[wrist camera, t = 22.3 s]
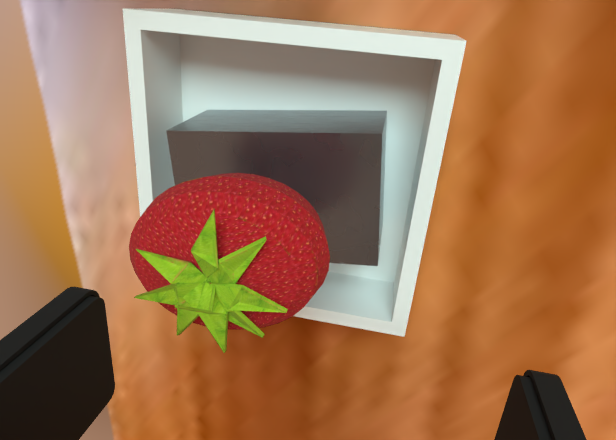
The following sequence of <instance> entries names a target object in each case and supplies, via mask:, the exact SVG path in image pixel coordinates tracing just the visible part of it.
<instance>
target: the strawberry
mask: <svg viewBox="0 0 616 440" xmlns="http://www.w3.org/2000/svg"><path fill="white" fill-rule="evenodd" d="M129 250H130V260H131V262H132V265H133V268H134V271H135V273H136V275H137V276H138V278H139V279H140V281H141V283H142V284H143V286H144V287H145V289H146V290H147V291H148V292H146V293H143V294H140V295H137V296H135V297H134V298H138V299H144V300H149V301H155V302H158V303H160V304H161V305H162V306H163V307H164V308H166V309H167V310H169V311H170V312H172V313H174V314H175V315H177V335H180V334H181V333H182V332H183V331H184V330H185V329H186V328H187V327H188V326H189V325H190V324H191V323H192V322H193V323H196V324H200V325H203V326H206V327H207V328H208V329H209V331H210V332H211V334H212V335H213V337H214V338H215V340H216V341H217V343H218V344H219V346H220V347H221V349H222V350H223V352H224V353H225V352H226V347H227V330H228V329H246V330H248V331H250V332H252V333H254V334H256V335H258V336H260V337H262V338H263V336H264V335H265V334H264V333H263V332H262V331H261V330H260V329H259V328H262V327H266V326H270V325H274V324H277V323H280V322H282V321H284V320H286V319H288V318H290V317H292V316H294V315H295V314H296V313H297V312H299V311H300V310H301V309H303V308H304V307H305V305H306V304H307V303H308V302H309V300H310V299H311V298H312V297H313V296H314V294H315V293H316V292H317V291H318V289H319V288H320V287H321V285H322V284H323V283H324V280H325V278H326V275H327V273H328V271H329V262H330V254H329V248H328V242H327V239H326V235H325V231H324V227H323V224H322V222H321V220H320V217H319V215H318V213H317V212H316V210H315V209H314V208H313V207H312V205H311V204H310V203H309V202H308V201H307V200H306V199H305V198H304V197H303V196H302V195H300V194H299V193H298V192H297V191H295V190H293V189H292V188H290V187H288V186H287V185H285V184H283V183H280V182H278V181H275V180H273V179H271V178H267V177H263V176H259V175H255V174H246V173H226V174H218V175H213V176H207V177H201V178H197V179H193V180H189V181H184V182H182V183H180V184H177V185H175V186H173V187H170V188H168V189H167V190H166V191H164V192H163V193H161V194H160V195H159V196H157V197H156V198H155V199H154V200H153V201H152V203H151V204H150V205H149V206H148V207H147V209H146V210H145V211H144V213H143V214H142V216H141V217H140V218H139V220H138V221H137V223H136V225H135V227H134V229H133V231H132V233H131V238H130V244H129Z"/></svg>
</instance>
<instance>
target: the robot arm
mask: <svg viewBox="0 0 616 440" xmlns="http://www.w3.org/2000/svg"><path fill="white" fill-rule="evenodd" d="M114 389H115V382H114V374H113V366H112V358H111V350H110V342H109V334H108V326H107V318H106V310H105V303H104V300H103V299H102V298H100V297H99V294H98V293H97V292H96V291H94V290H89V289H84V288H78V287H70V288H68V289H66V290H65V291H64V292H62V293H61V294H60V295H58V296H57V297H56V298H54V299H53V300H52V301H51V302H49V303H48V304H47V305H45V306H44V307H43V308H42V309H40V310H39V311H38V312H36V313H35V314H34V315H32V316H31V317H30V318H29V319H27V320H26V321H25V322H24V323H22V324H21V325H20V326H18V327H17V328H16V329H14V330H13V331H12V332H10V333H9V334H8V335H7V336H5V337H4V338H3V339H1V340H0V440H79V439H80V437H81V436H82V435H83V434H84V432H85V431H86V430H87V429H88V427H89V426H90V425H91V424H92V422H93V421H94V420H95V419H96V417H97V416H98V415H99V413H100V412H101V411H102V410H103V408H104V407H105V406H106V405H107V404H108V402H109V401H110V399H111V398H112V395H113V393H114ZM494 440H586V438H585V435H584V433H583V430H582V428H581V426H580V423H579V421H578V419H577V416H576V414H575V412H574V409H573V407H572V405H571V402H570V400H569V398H568V395H567V393H566V391H565V388H564V386H563V383H562V381H561V379H560V378H559V376H557V375H554V374H549V373H543V372H538V371H533V370H527V371H526V372H525V373H524V376H520V375H516V376H515V378H514V380H513V383H512V386H511V389H510V392H509V396H508V399H507V402H506V405H505V408H504V411H503V414H502V417H501V421H500V424H499V427H498V430H497V433H496V436H495V439H494Z"/></svg>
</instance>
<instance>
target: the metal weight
mask: <svg viewBox="0 0 616 440" xmlns="http://www.w3.org/2000/svg"><path fill="white" fill-rule="evenodd" d="M386 124H387V111H367V110H206V111H204V112H202V113H200V114H198V115H196V116H194V117H192V118H190V119H188V120H186V121H184V122H182V123H180V124H178V125H176V126H174V127H172V128H170V129H168V130H166V132H167V139H168V145H169V151H170V158H171V164H172V170H173V176H174V183H175V185H177V184H180V183H182V182H184V181H189V180H193V179H197V178H201V177H207V176H213V175H218V174H226V173H246V174H255V175H259V176H263V177H267V178H271V179H273V180H275V181H278V182H280V183H283V184H285V185H287V186H288V187H290V188H292V189H293V190H295V191H297V192H298V193H299V194H300V195H302V196H303V197H304V198H305V199H306V200H307V201H308V202H309V203H310V204H311V205H312V207H313V208H314V209H315V210H316V212H317V213H318V215H319V217H320V220H321V222H322V224H323V227H324V231H325V235H326V239H327V242H328V248H329V254H330V262H329V263H338V264H353V265H367V266H378V261H379V252H380V244H381V235H382V226H383V205H384V178H385V151H386Z"/></svg>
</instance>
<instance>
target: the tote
mask: <svg viewBox="0 0 616 440" xmlns="http://www.w3.org/2000/svg"><path fill="white" fill-rule="evenodd" d="M123 20H124V32H125V43H126V55H127V67H128V78H129V90H130V102H131V113H132V125H133V137H134V148H135V160H136V172H137V184H138V195H139V207H140V217H141V216H142V214H143V213H144V211H145V210H146V209H147V207H148V206H149V205H150V204H151V203H152V201H153V200H154V199H155V198H156V197H157V196H159V195H160V194H161V193H163V192H164V191H166V190H167V189H168V188H170V187H173V186H175V183H174V176H173V170H172V164H171V158H170V151H169V145H168V139H167V132H166V130H168V129H170V128H172V127H174V126H176V125H178V124H180V123H182V122H184V121H186V120H188V119H190V118H192V117H194V116H196V115H198V114H200V113H202V112H204V111H206V110H367V111H387V124H386V151H385V178H384V205H383V226H382V235H381V244H380V252H379V261H378V266H367V265H353V264H338V263H329V271H328V273H327V275H326V278H325V280H324V283H323V284H322V285H321V287H320V288H319V289H318V291H317V292H316V293H315V294H314V296H313V297H312V298H311V299H310V300H309V302H308V303H307V304H306V305H305V307H304V308H303V309H301V310H300V311H299V312H297V313H296V314H295V315H294V316H295V317H300V318H306V319H311V320H317V321H322V322H327V323H333V324H338V325H344V326H349V327H354V328H360V329H365V330H371V331H376V332H381V333H387V334H392V335H398V336H403V337H404V336H405V332H406V327H407V322H408V317H409V313H410V308H411V303H412V298H413V294H414V289H415V284H416V279H417V275H418V270H419V265H420V260H421V255H422V251H423V246H424V241H425V236H426V232H427V227H428V222H429V217H430V213H431V208H432V203H433V198H434V193H435V189H436V184H437V179H438V174H439V170H440V165H441V160H442V155H443V151H444V146H445V141H446V136H447V131H448V127H449V122H450V117H451V112H452V108H453V103H454V98H455V93H456V89H457V84H458V79H459V74H460V70H461V65H462V60H463V55H464V50H465V46H466V40H464V39H462V38H460V37H458V36H457V35H454V34H443V33H432V32H421V31H411V30H400V29H389V28H378V27H367V26H357V25H346V24H335V23H324V22H313V21H303V20H292V19H281V18H270V17H259V16H249V15H238V14H227V13H216V12H205V11H195V10H184V9H173V8H169V9H123Z"/></svg>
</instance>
